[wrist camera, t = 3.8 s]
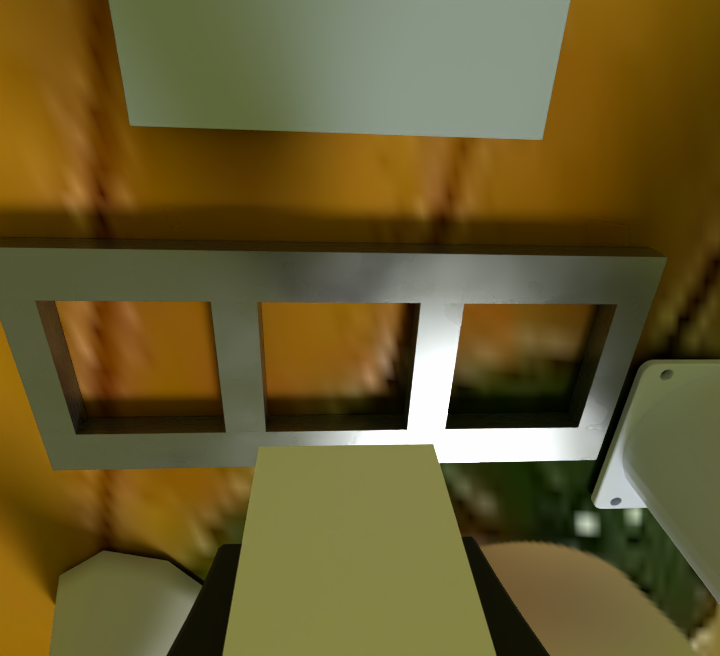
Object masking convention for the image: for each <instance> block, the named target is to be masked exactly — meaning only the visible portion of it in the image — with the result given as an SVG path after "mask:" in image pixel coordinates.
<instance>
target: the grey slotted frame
mask: <svg viewBox="0 0 720 656" xmlns="http://www.w3.org/2000/svg"><path fill="white" fill-rule="evenodd" d="M667 259H668V257H667V256H665V255H663V254H661V253H659V252H657V251H655V250H654V249H652V248H631V247H569V246H508V245H446V244H385V243H323V242H262V241H200V240H139V239H77V238H16V237H0V320H1V323H2V326H3V329H4V331H5V334H6V337H7V340H8V343H9V346H10V349H11V351H12V354H13V357H14V360H15V363H16V366H17V369H18V371H19V374H20V377H21V380H22V383H23V386H24V389H25V391H26V394H27V397H28V400H29V403H30V406H31V409H32V411H33V414H34V417H35V420H36V423H37V426H38V429H39V431H40V434H41V437H42V440H43V443H44V446H45V449H46V451H47V454H48V457H49V460H50V463H51V466H52V469H53V470H96V469H147V468H198V467H248V466H256V460H257V455H258V449H259V447H270V446H331V445H392V444H434V447H435V451H436V454H437V457H438V461H439V463H452V462H503V461H554V460H596V459H597V456H598V454H599V451H600V448H601V445H602V442H603V439H604V437H605V434H606V431H607V428H608V425H609V423H610V420H611V417H612V414H613V411H614V409H615V406H616V403H617V400H618V397H619V394H620V392H621V389H622V386H623V383H624V380H625V378H626V375H627V372H628V369H629V366H630V364H631V361H632V358H633V355H634V352H635V349H636V347H637V344H638V341H639V338H640V335H641V333H642V330H643V327H644V324H645V321H646V319H647V316H648V313H649V310H650V307H651V304H652V302H653V299H654V296H655V293H656V290H657V288H658V285H659V282H660V279H661V276H662V274H663V271H664V268H665V265H666V262H667ZM54 301H191V302H211V309H212V318H213V326H214V335H215V343H216V352H217V360H218V369H219V377H220V386H221V394H222V403H223V411H224V416H195V417H109V418H88V417H87V414H86V410H85V407H84V403H83V400H82V396H81V393H80V389H79V386H78V382H77V379H76V375H75V372H74V368H73V365H72V361H71V358H70V354H69V351H68V347H67V344H66V340H65V337H64V333H63V330H62V326H61V323H60V319H59V316H58V312H57V309H56V305H55V302H54ZM261 302H343V303H415V305H414V315H413V325H412V335H411V345H410V355H409V365H408V375H407V384H406V394H405V404H404V414H368V415H282V416H268V401H267V386H266V370H265V354H264V339H263V323H262V307H261ZM464 303H495V304H599V308H598V311H597V314H596V318H595V321H594V325H593V328H592V331H591V335H590V338H589V341H588V345H587V348H586V351H585V355H584V358H583V361H582V365H581V368H580V371H579V375H578V378H577V381H576V385H575V388H574V391H573V395H572V398H571V401H570V405H569V408H568V411H567V412H540V413H454V414H447V412H448V405H449V399H450V392H451V386H452V379H453V373H454V366H455V360H456V353H457V347H458V340H459V334H460V327H461V321H462V314H463V308H464Z"/></svg>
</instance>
